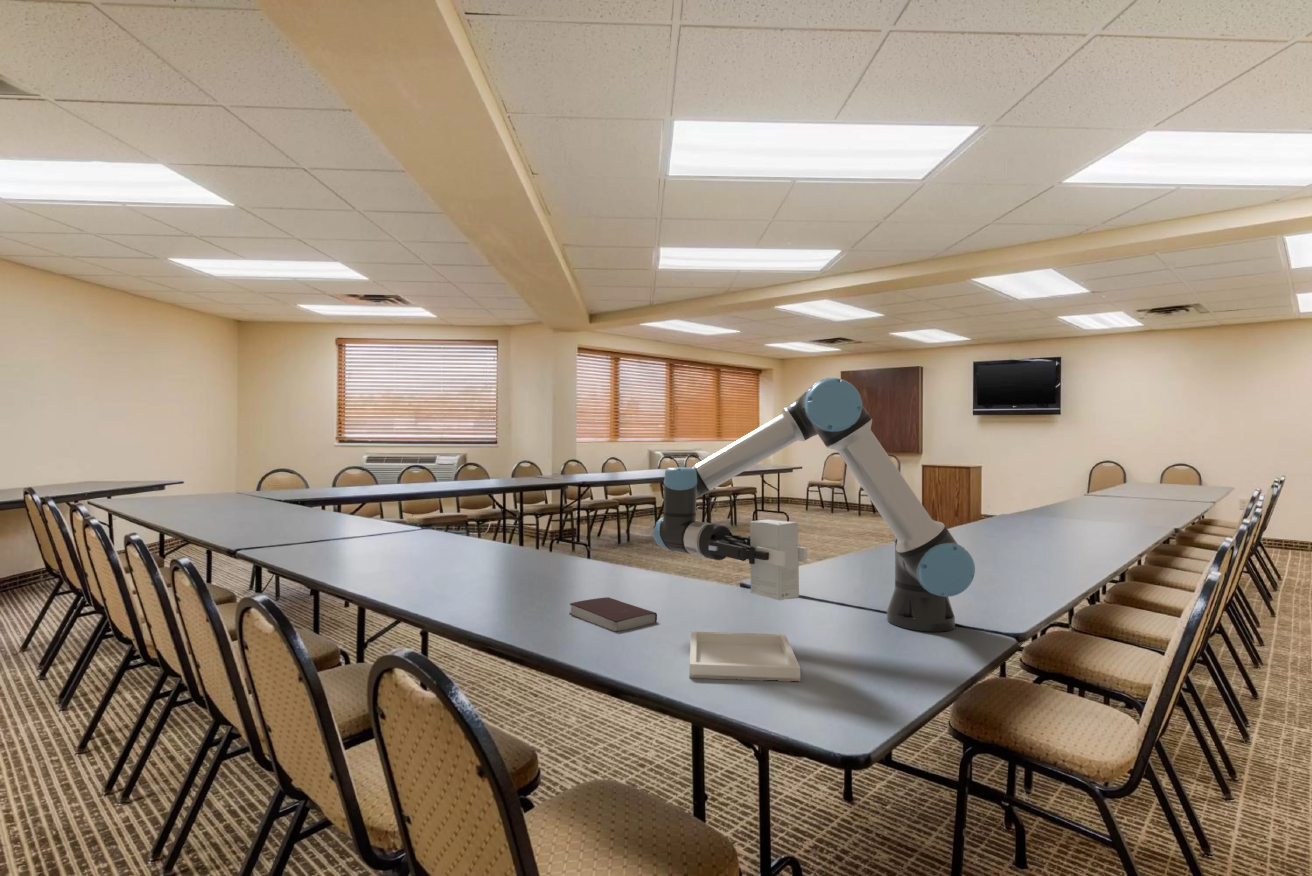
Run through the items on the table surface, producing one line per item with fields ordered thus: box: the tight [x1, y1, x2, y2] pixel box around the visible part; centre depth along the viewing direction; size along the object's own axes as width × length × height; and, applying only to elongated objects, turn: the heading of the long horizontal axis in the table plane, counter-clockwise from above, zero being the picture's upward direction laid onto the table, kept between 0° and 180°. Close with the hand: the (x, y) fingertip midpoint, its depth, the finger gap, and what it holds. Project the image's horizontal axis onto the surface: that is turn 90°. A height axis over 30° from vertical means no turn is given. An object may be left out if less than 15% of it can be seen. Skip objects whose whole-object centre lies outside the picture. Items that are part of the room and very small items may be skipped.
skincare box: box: [749, 518, 800, 601], centre depth 126 cm, size 8×6×15 cm
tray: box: [688, 631, 801, 683], centre depth 125 cm, size 20×20×2 cm
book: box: [569, 596, 658, 633], centre depth 155 cm, size 12×19×3 cm, turn 41°
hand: (795, 556), depth 122 cm, fingers closed on skincare box, 6 cm apart
